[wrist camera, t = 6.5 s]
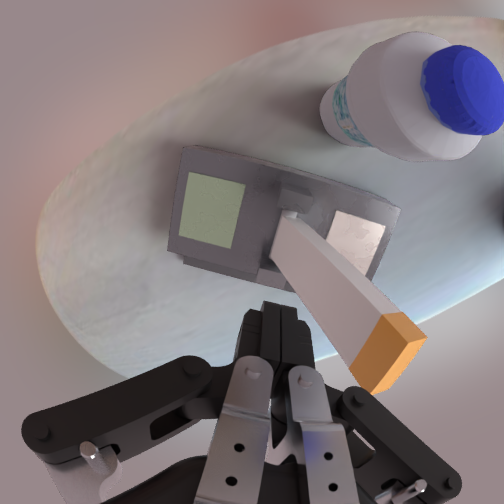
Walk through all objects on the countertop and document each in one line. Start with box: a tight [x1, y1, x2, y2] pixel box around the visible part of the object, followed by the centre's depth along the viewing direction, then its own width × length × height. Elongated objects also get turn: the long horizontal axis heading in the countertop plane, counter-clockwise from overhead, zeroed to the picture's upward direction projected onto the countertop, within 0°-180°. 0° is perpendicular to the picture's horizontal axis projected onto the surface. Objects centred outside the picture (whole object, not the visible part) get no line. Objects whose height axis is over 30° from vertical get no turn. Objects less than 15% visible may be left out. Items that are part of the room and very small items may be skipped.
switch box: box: [167, 145, 401, 289], centre depth 24 cm, size 20×10×7 cm, turn 76°
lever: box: [269, 209, 427, 395], centre depth 17 cm, size 2×4×15 cm, turn 167°
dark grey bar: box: [183, 256, 296, 293], centre depth 30 cm, size 18×2×1 cm, turn 76°
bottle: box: [319, 32, 504, 162], centre depth 14 cm, size 7×7×20 cm
